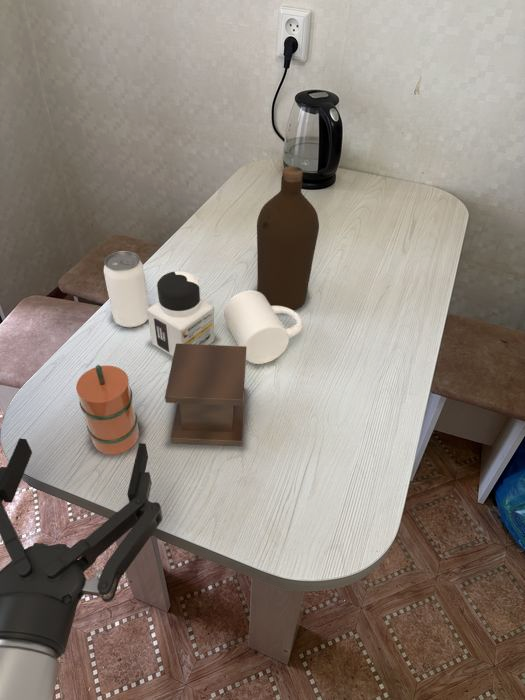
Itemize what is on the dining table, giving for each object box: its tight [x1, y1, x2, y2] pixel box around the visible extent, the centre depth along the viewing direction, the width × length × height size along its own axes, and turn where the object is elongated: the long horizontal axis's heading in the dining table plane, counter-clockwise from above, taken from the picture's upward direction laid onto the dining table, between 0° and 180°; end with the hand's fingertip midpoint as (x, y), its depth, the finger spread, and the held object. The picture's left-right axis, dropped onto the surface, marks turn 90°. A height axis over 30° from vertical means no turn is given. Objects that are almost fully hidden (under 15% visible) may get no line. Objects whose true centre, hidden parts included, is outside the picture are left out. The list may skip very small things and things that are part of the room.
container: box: [147, 270, 216, 357], centre depth 82 cm, size 8×8×13 cm
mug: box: [223, 289, 304, 365], centre depth 84 cm, size 12×10×8 cm
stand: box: [164, 344, 247, 447], centre depth 71 cm, size 10×10×10 cm
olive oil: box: [256, 165, 320, 311], centre depth 88 cm, size 11×11×25 cm
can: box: [103, 250, 150, 329], centre depth 86 cm, size 6×6×12 cm
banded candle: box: [75, 364, 140, 456], centre depth 67 cm, size 7×7×14 cm
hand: (85, 447), depth 59 cm, fingers open, 13 cm apart
